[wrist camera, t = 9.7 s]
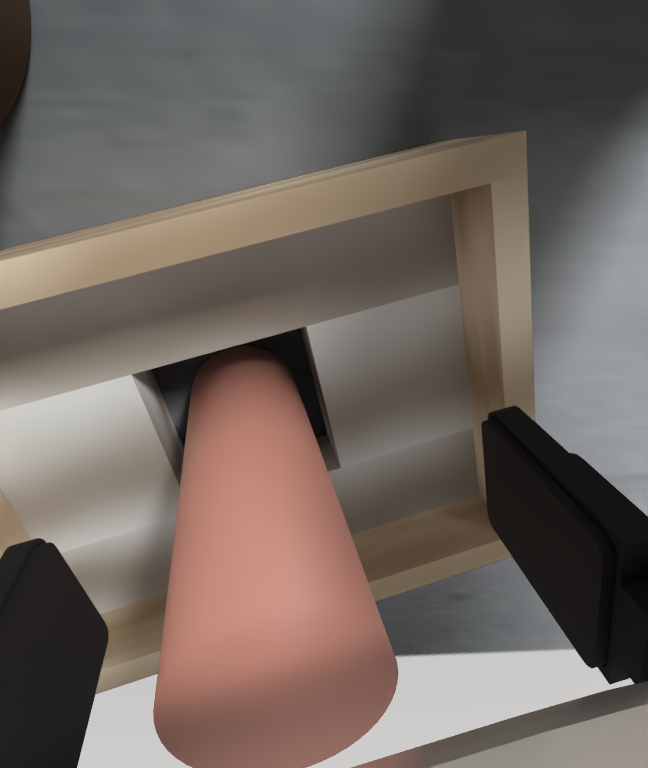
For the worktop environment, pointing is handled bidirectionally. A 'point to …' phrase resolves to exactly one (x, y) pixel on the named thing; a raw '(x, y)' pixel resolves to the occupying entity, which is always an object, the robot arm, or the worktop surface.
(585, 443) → the worktop surface
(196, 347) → the box
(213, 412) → the peg
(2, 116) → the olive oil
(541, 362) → the worktop surface
